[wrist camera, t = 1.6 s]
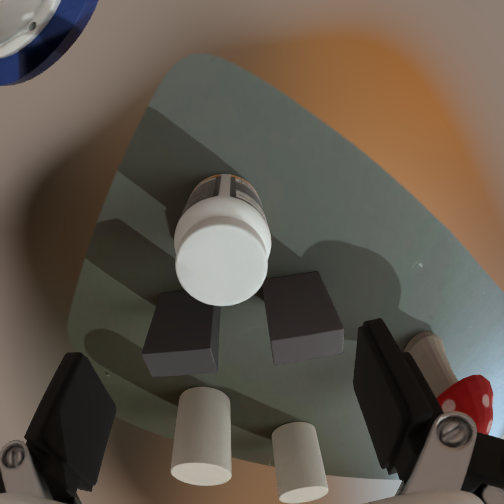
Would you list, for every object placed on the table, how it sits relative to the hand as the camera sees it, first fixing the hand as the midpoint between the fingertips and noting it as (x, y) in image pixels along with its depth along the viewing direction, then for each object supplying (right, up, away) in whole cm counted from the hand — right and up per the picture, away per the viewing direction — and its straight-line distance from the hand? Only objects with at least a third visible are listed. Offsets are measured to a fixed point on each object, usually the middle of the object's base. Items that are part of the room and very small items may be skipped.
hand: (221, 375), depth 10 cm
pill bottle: (-1, +7, +15) cm, 17 cm away
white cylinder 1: (-5, -14, +25) cm, 29 cm away
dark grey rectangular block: (+4, +1, +18) cm, 19 cm away
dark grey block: (-4, 0, +18) cm, 19 cm away
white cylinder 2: (+7, -21, +29) cm, 36 cm away
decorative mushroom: (+21, -8, +24) cm, 32 cm away
